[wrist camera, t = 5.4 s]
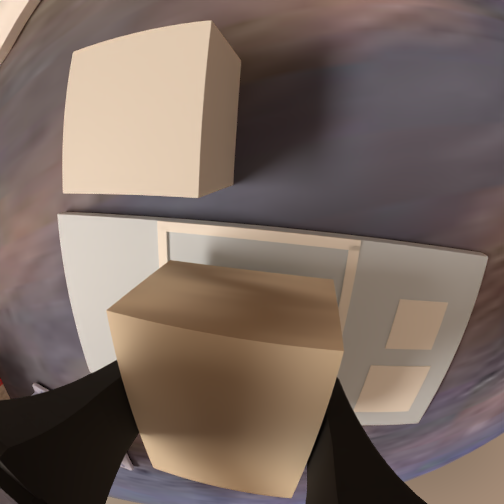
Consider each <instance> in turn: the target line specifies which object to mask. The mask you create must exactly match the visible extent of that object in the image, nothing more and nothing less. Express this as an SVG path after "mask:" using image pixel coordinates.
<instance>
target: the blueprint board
mask: <svg viewBox="0 0 504 504" xmlns="http://www.w3.org/2000/svg"><path fill="white" fill-rule="evenodd" d="M57 215H58V226H59V235H60V244H61V251H62V258H63V264H64V271H65V276H66V282H67V287H68V292H69V297H70V302H71V306H72V311H73V315H74V319H75V323H76V327H77V331H78V334H79V338H80V342H81V345H82V349H83V352H84V355H85V358H86V362H87V365H88V368H89V371H90V372H92V373H93V372H95V371H97V370H99V369H101V368H103V367H105V366H106V365H108V364H110V363H112V362H114V361H115V360H117V358H116V354H115V350H114V345H113V341H112V336H111V332H110V327H109V322H108V317H107V312H106V310H107V309H108V308H110V307H111V306H112V305H113V304H115V303H116V302H117V301H118V300H120V299H121V298H122V297H123V296H125V295H126V294H127V293H128V292H130V291H131V290H132V289H133V288H135V287H136V286H137V285H139V284H140V283H141V282H142V281H144V280H145V279H146V278H147V277H149V276H150V275H151V274H153V273H154V272H155V271H156V270H158V269H159V268H160V267H162V266H163V265H164V264H166V263H167V262H168V261H170V260H174V261H182V262H190V263H197V264H205V265H213V266H221V267H229V268H237V269H246V270H254V271H262V272H271V273H280V274H288V275H297V276H306V277H315V278H324V279H333V280H334V286H335V292H336V298H337V304H338V311H339V317H340V324H341V331H342V338H343V346H344V353H343V357H342V361H341V364H340V368H339V371H338V375H337V377H338V379H339V380H340V383H341V385H342V387H343V390H344V392H345V394H346V396H347V399H348V401H349V403H350V405H351V407H352V409H353V411H354V413H355V415H356V416H357V418H358V420H359V422H360V424H361V425H396V424H413V423H418V422H419V421H420V419H421V418H422V416H423V414H424V413H425V411H426V409H427V407H428V406H429V404H430V402H431V400H432V399H433V397H434V395H435V393H436V391H437V390H438V388H439V386H440V384H441V382H442V380H443V378H444V376H445V374H446V372H447V370H448V368H449V366H450V364H451V362H452V359H453V357H454V355H455V353H456V350H457V348H458V346H459V344H460V341H461V339H462V336H463V334H464V331H465V329H466V326H467V324H468V321H469V318H470V316H471V313H472V310H473V307H474V304H475V301H476V298H477V295H478V292H479V289H480V286H481V282H482V279H483V275H484V272H485V268H486V264H487V260H488V256H486V255H485V254H483V253H482V252H475V251H469V250H462V249H455V248H448V247H441V246H434V245H426V244H419V243H412V242H404V241H396V240H388V239H380V238H372V237H364V236H355V235H347V234H338V233H329V232H320V231H310V230H301V229H291V228H281V227H271V226H260V225H250V224H239V223H227V222H215V221H203V220H191V219H178V218H164V217H149V216H134V215H118V214H100V213H81V212H63V213H59V214H57Z"/></svg>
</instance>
